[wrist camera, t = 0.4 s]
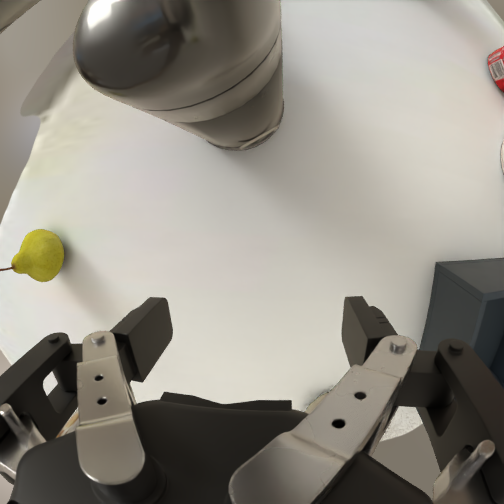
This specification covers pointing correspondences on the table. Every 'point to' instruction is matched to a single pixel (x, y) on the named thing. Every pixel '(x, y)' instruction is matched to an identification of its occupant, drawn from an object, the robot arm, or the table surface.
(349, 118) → the table surface
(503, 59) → the soda can
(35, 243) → the fruit
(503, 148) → the fruit juice
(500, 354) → the bin
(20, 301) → the table surface
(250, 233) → the table surface
